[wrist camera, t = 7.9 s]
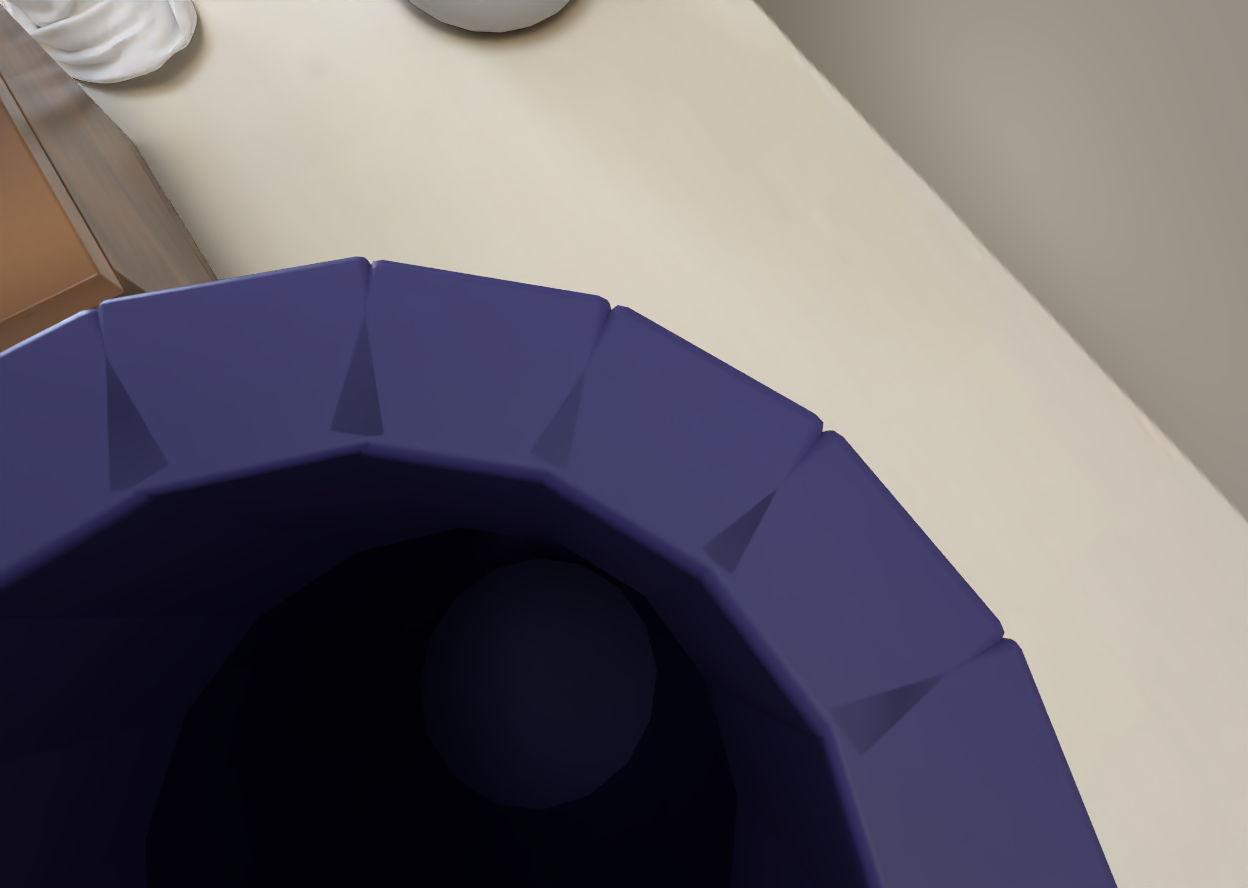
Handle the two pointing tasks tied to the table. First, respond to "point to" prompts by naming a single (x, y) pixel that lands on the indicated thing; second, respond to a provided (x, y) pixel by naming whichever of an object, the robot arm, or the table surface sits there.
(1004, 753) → the purple hollow cylinder
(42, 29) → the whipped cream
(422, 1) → the donut
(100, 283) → the bread box lid
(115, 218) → the bread box
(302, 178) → the table surface
